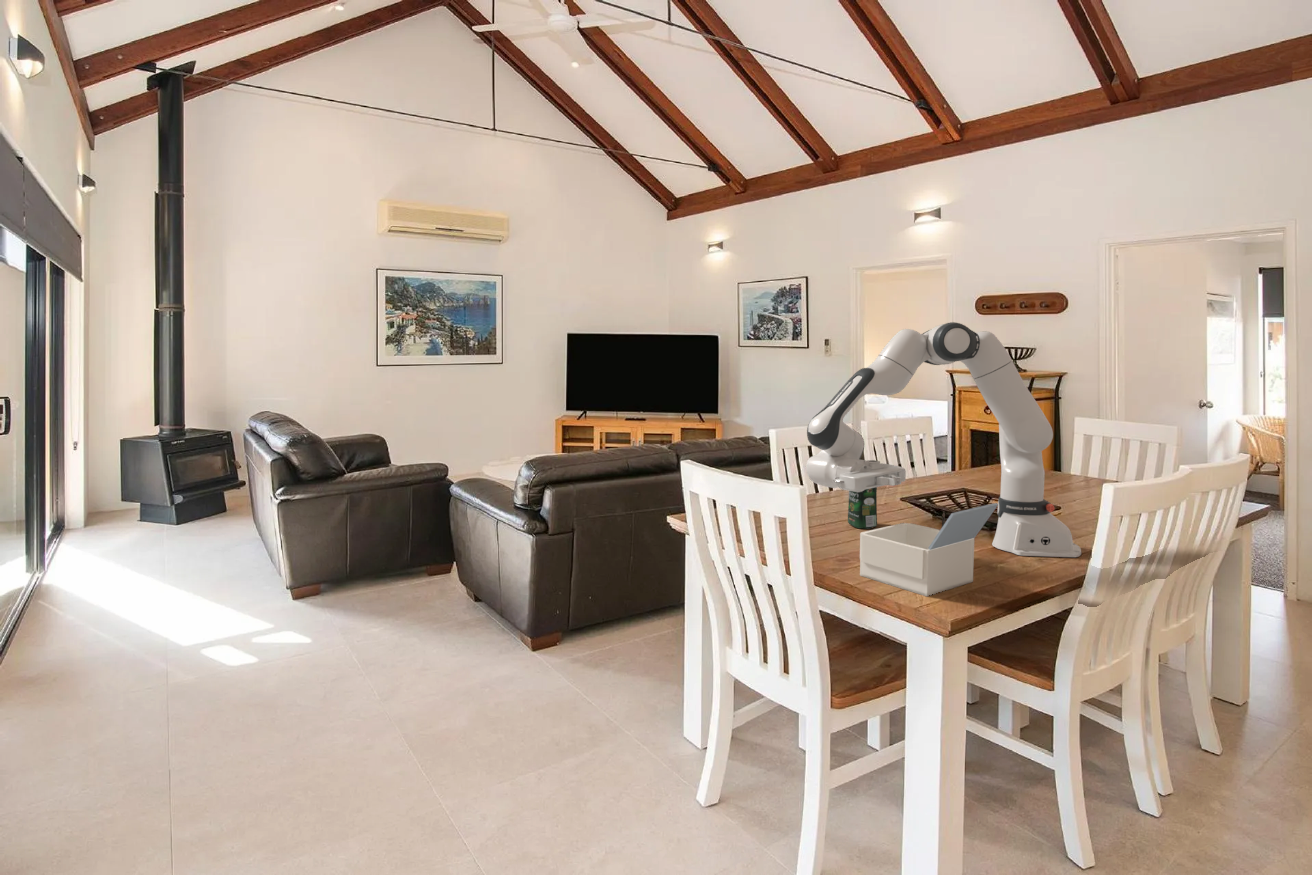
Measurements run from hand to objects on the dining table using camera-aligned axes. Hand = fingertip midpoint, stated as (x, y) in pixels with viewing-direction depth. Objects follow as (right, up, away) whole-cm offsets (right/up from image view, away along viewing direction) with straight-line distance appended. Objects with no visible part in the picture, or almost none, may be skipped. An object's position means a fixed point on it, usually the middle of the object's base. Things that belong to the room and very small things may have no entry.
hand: (897, 481), depth 198 cm
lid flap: (+10, -9, -18) cm, 22 cm away
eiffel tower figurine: (+16, -22, +15) cm, 31 cm away
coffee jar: (+4, -17, +49) cm, 52 cm away
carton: (+3, -24, -5) cm, 25 cm away
